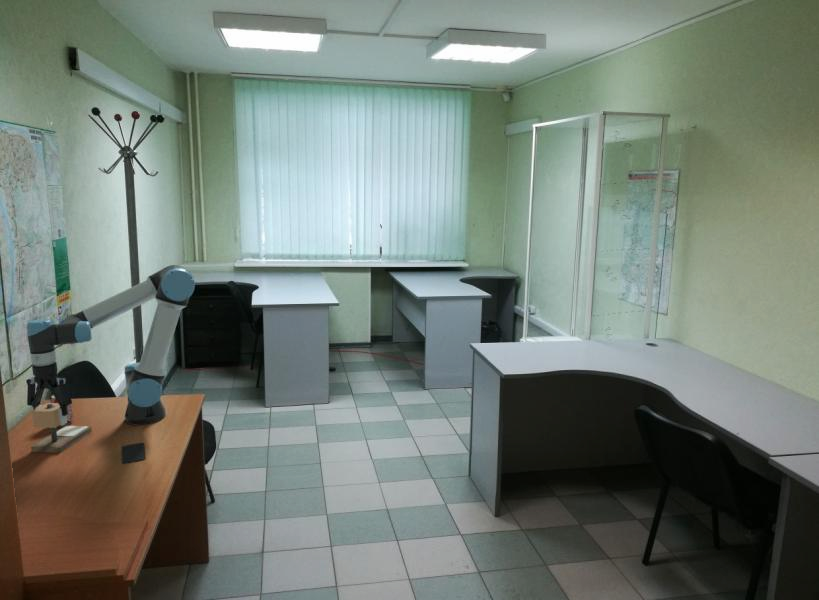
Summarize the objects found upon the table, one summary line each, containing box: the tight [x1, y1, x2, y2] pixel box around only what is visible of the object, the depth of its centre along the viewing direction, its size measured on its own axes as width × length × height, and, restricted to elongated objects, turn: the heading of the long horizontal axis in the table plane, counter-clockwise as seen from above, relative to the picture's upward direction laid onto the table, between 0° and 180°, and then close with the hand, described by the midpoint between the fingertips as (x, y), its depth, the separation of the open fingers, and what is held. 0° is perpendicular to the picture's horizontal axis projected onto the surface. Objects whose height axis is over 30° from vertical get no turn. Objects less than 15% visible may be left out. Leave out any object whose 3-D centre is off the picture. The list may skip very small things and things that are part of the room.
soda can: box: [49, 394, 74, 427], centre depth 235 cm, size 7×7×12 cm
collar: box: [31, 402, 70, 429], centre depth 214 cm, size 8×8×6 cm
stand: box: [30, 404, 93, 454], centre depth 218 cm, size 11×18×16 cm, turn 175°
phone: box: [121, 442, 147, 465], centre depth 209 cm, size 7×1×15 cm
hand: (52, 423), depth 214 cm, fingers closed on collar, 8 cm apart
